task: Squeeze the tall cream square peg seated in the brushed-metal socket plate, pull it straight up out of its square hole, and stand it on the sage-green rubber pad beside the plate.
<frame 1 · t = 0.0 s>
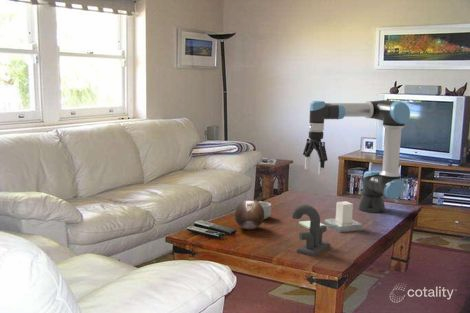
hand: (314, 171, 273), 28 cm above the table, fingers open, 13 cm apart
teacup: (261, 217, 286), on the table
socket plate: (343, 227, 272), on the table
peg: (344, 215, 271), in the socket plate
bronze metal ball: (248, 229, 265), on the table
faucet: (306, 247, 239), on the table
pad: (312, 225, 274), on the table
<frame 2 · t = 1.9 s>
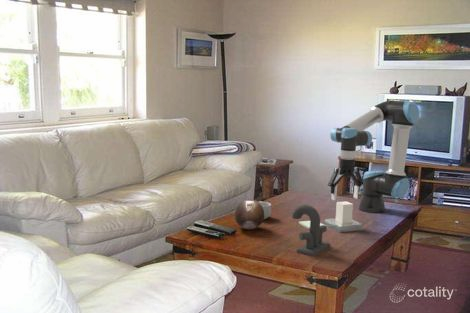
hand: (344, 199, 269), 15 cm above the table, fingers open, 13 cm apart
nothing on the table moved.
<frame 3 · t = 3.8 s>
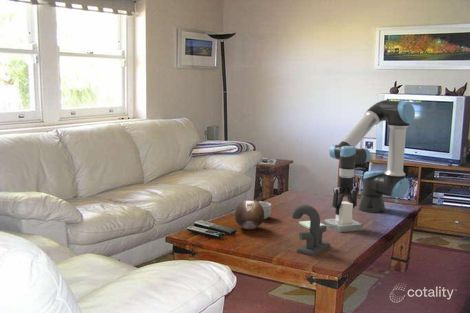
hand: (343, 219, 271), 4 cm above the table, fingers closed on peg, 6 cm apart
peg: (344, 215, 271), in the socket plate, touching gripper
everything else where it was.
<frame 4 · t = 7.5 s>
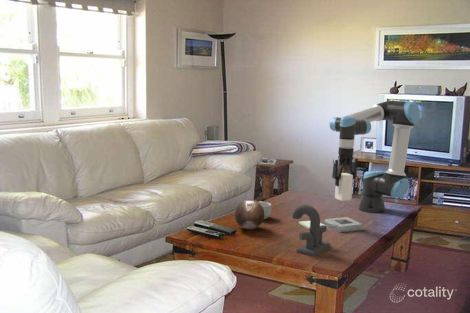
hand: (343, 191, 269), 19 cm above the table, fingers closed on peg, 6 cm apart
peg: (343, 186, 268), point 22 cm above the table, touching gripper
everything else where it was.
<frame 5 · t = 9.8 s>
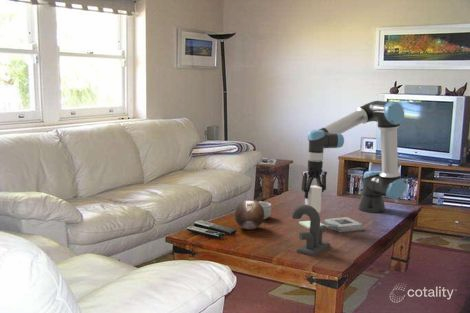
hand: (312, 203, 272), 12 cm above the table, fingers closed on peg, 6 cm apart
peg: (313, 199, 271), point 14 cm above the table, touching gripper
everything else where it was.
when the fingers open (7 cm above the table, at t = 11.4 s): peg drops 2 cm, resting on pad.
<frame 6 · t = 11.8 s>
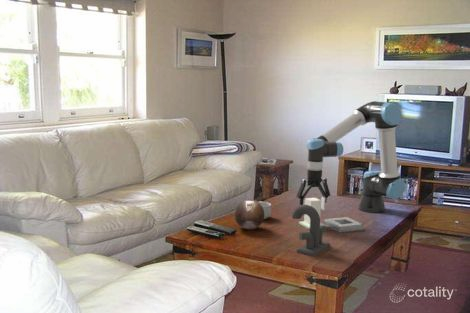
hand: (312, 210, 272), 8 cm above the table, fingers open, 11 cm apart
peg: (312, 211, 273), on the pad, point 8 cm above the table
everything else where it was.
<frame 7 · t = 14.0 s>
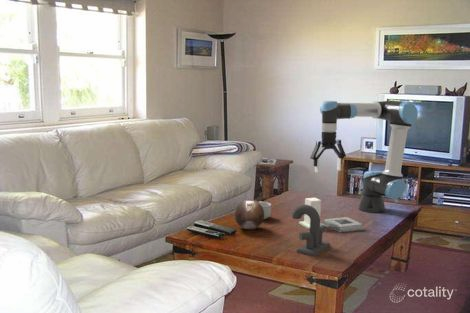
hand: (327, 171, 273), 28 cm above the table, fingers open, 13 cm apart
nothing on the table moved.
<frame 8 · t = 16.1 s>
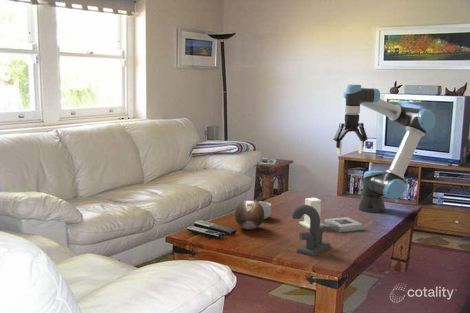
hand: (349, 153, 279), 37 cm above the table, fingers open, 13 cm apart
nothing on the table moved.
at the end: peg inside the target area on the pad (0.1 cm from its centre), point 7.5 cm above the pad's base; peg tilted 0°; the gripper is holding nothing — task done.
